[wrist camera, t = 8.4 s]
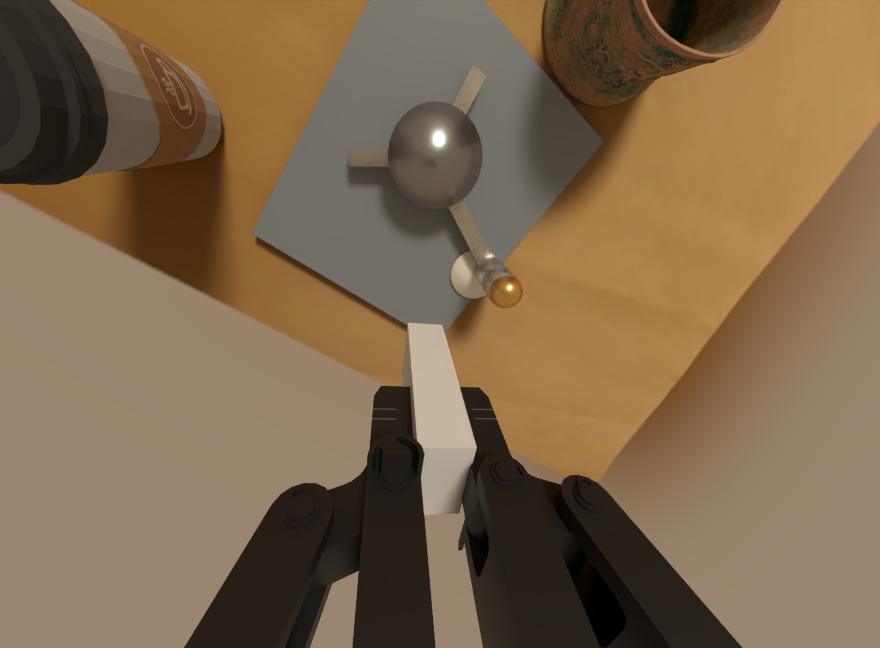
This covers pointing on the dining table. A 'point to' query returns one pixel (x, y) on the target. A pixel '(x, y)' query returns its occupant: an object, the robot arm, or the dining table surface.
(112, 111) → the coffee cup
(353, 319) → the dining table surface
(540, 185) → the stand plate
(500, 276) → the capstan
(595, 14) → the mug
